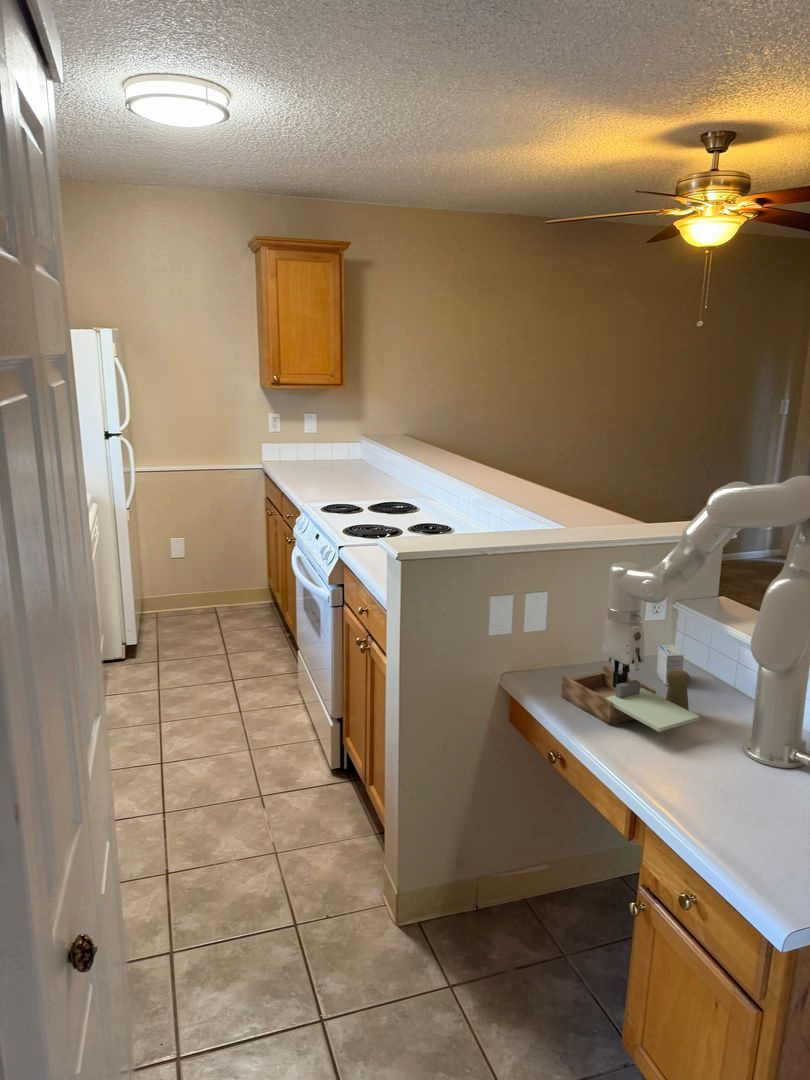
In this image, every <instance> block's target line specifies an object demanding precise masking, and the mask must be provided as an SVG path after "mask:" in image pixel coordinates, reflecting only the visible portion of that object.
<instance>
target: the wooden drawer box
mask: <svg viewBox="0 0 810 1080" xmlns="http://www.w3.org/2000/svg"><path fill="white" fill-rule="evenodd" d="M613 672H614V671H612V669H611V667H609V666H606V665H602V671H598V672H593V673H589V674H585V675H581V676H577V677H573V678H569V677H568V676H566V675H564V674H563V675H561V685H560V686H561V688H560V689H561V693H560V697H561V698H562V699H564V700H566V701H567V702H569V703H570V704H572V705H573V706H575V707H577V708H579V709H581V710H582V711H584V712H585V713H587V714H589V715H590V716H592V717H594V718H595V719H597V720H599V721H601V722H603V723H604V724H606V725H608V726H613V725H616V724H620V723H623V722H627V721H631V720H634V719H635V718H633V717H631V716H629V715H628V714H626V713H624V712H622V711H620V710H619V709H617V708H615V707H613V706H612V702H611V701H610V700H608V699H606V698H607V697H610V696H614V695H616V687H613ZM632 680H634V679H633V678H630V677H629V676H628V680H627V682H628V681H632ZM641 688H644V689H646V690H648V691H650V692H652V693H654V694H656V690H655V689H653V688H651V687H650V686H647V685H645V684H643V683H641V682H640V689H641ZM635 720H636V719H635Z"/></svg>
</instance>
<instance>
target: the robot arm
mask: <svg viewBox="0 0 810 1080" xmlns="http://www.w3.org/2000/svg"><path fill="white" fill-rule="evenodd" d="M789 526H795V529H794V534H793V535H792V538H791V541H790V544H789V545H790V546H789V549H788V553H787V556H786V558H785V561H784V565H783V567H782V570H781V571H780V572H779V574H778V575H777V576H776V577H775V578H774V579H773V580H772V581H771V582H770V583H769V585H768V586H767V588H766V591H765V593H764V595H763V599H762V602H761V606H760V608H759V612H758V615H757V618H756V622H755V625H754V628H753V632H752V636H751V639H750V651H751V654H752V656H753V659H754V660H755V662H756V663H757V664H758V666H757V667H758V668H757V675H756V676H757V678H756V685H755V695H754V705H753V706H754V707H753V715H752V717H753V719H752V726H751V736H750V737H747V738H746V739H744V740H743V742H742V750H743V752H744V753H745V755H747V756H748V757H749V758H750V759H753V760H754V761H756V762H758V763H760V764H763V765H766V766H770V767H775V768H783V769H792V768H793V769H795V768H798V767H801V766H804V765H806V766H808V767H810V750H808V749H807V746H806V745H807V741H806V740H804V739H802V735H803V728H804V727H803V726H804V718H805V710H806V709H805V708H806V701H807V700H806V698H807V691H808V683H809V676H810V675H809V674H810V475H797V476H794V477H791V478H788V479H787V480H784V481H783V482H779V483H776V482H775V483H768V484H766V483H765V484H756V485H752V484H750V483H748V482H745V481H733V482H729V483H727V484H725V485H724V486H723V485H722V486H721V487H719V488H717V489H716V490H714V491H713V492H712V493H711V494H710V495H709V497H708V499H707V502H706V506H704V507H703V508H702V509H701V511H699V513H698V514H697V515H696V516H695V517H694V518H693V519H692V520H691V521H690V522H689V523H688V524H687V525H686V526H685V527H684V529H683V531H682V536H681V539H680V541H679V542H678V543H677V544H676V545H675V547H673V549H672V550H671V551H670V552H669V553H668V554H667V555H666V556H665V557H664V558H663V559H662V560H661V561H660V562H659V563H658V564H656V565H655V566H653V567H651V568H648V569H644V570H643V567H642V566H641V565H640V564H638V563H635V562H630V561H619V562H614V563H613V564H611V565H610V567H609V571H608V572H609V575H608V576H609V577H608V591H607V593H608V594H607V595H608V596H607V616H606V617H605V621H604V624H603V625H604V626H603V630H602V631H603V632H602V639H601V640H602V641H601V642H602V643H601V650H602V651H601V652H602V653H603V654H604V655H603V656H604V658H606V660H608V661H609V663H610V668H611V669H612V671H614V672H613V687H616V684H620V683H624V682H627V680H628V677H629V673H630V672H636V671H637V672H638V671H639V670H640V665H639V664H641V663H643V662H644V661H645V632H644V631H645V630H644V626H643V625H644V624H643V623H642V622H641V621H642V619H643V617H642V616H641V610H642V601H643V602H646V603H649V604H658V603H662V602H664V601H665V600H667V599H669V598H670V597H671V596H673V594H675V593H677V592H678V591H679V590H681V589H682V588H683V587H684V586H686V584H687V583H688V582H689V581H690V580H692V578H693V577H694V576H695V575H697V573H698V572H700V570H701V569H702V568H703V567H704V566H705V565H706V564H707V563H708V562H709V561H710V560H712V559H713V558H714V557H715V556H716V555H717V554H718V553H719V552H720V550H721V549H723V547H725V546H726V545H727V544H728V542H729V541H730V540H732V538H734V537H735V535H737V534H738V533H739V532H740V531H741V530H742V529H757V528H758V529H759V528H779V527H789Z"/></svg>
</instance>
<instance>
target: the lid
mask: <svg viewBox="0 0 810 1080" xmlns="http://www.w3.org/2000/svg"><path fill="white" fill-rule="evenodd" d="M640 683H641V681H638V680H637V679H633V680H632V681H628V682H624V683H620V684H616V695H614V696H610V697H607V698H606V699H608V700H610V701H611V702H612V706H613V707H615V708H617V709H619V710H620V711H622V712H624V713H626V714H628V715H629V716H631V717H633V718H635V720H637V721H638V722H640V723H642V724H644V725H646V726H648V727H650V728H651V729H653V730H654V731H657V732H659V733H661V732H662V731H666V730H670V729H673V728H677V727H679V726H680V727H681V726H684V725H686V724H689V723H693V722H697V721H700V718H701V716H699V715H698V714H695V713H694V712H692V711H690V710H689V711H688V710H686V709H684V708H682V707H680V706H678V705H676V704H674V703H672V702H670V701H668V700H666V698H664V697H663V696H662V697H661V696H659V695H658V694H656V693H655V694H654V693H652V692H650V691H648V690H646V689H644V688H641V689H640Z"/></svg>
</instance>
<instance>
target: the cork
mask: <svg viewBox="0 0 810 1080" xmlns="http://www.w3.org/2000/svg"><path fill="white" fill-rule="evenodd" d="M690 681H691V677H690V674H689V672H687V671H685V670H683V671H682V670H671V671H670V672H669V673H668V675H667V682H668V683H669V686H668V688H667V691H666V696H665V699H666V700H668V701H670V702H672V703H674V704H676V705H678V706H680V707H682V708H684V709H686V710H688V711H690V710H689V709H690V708H689V697H688V696H689V695H688V686H689V685H690Z"/></svg>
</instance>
